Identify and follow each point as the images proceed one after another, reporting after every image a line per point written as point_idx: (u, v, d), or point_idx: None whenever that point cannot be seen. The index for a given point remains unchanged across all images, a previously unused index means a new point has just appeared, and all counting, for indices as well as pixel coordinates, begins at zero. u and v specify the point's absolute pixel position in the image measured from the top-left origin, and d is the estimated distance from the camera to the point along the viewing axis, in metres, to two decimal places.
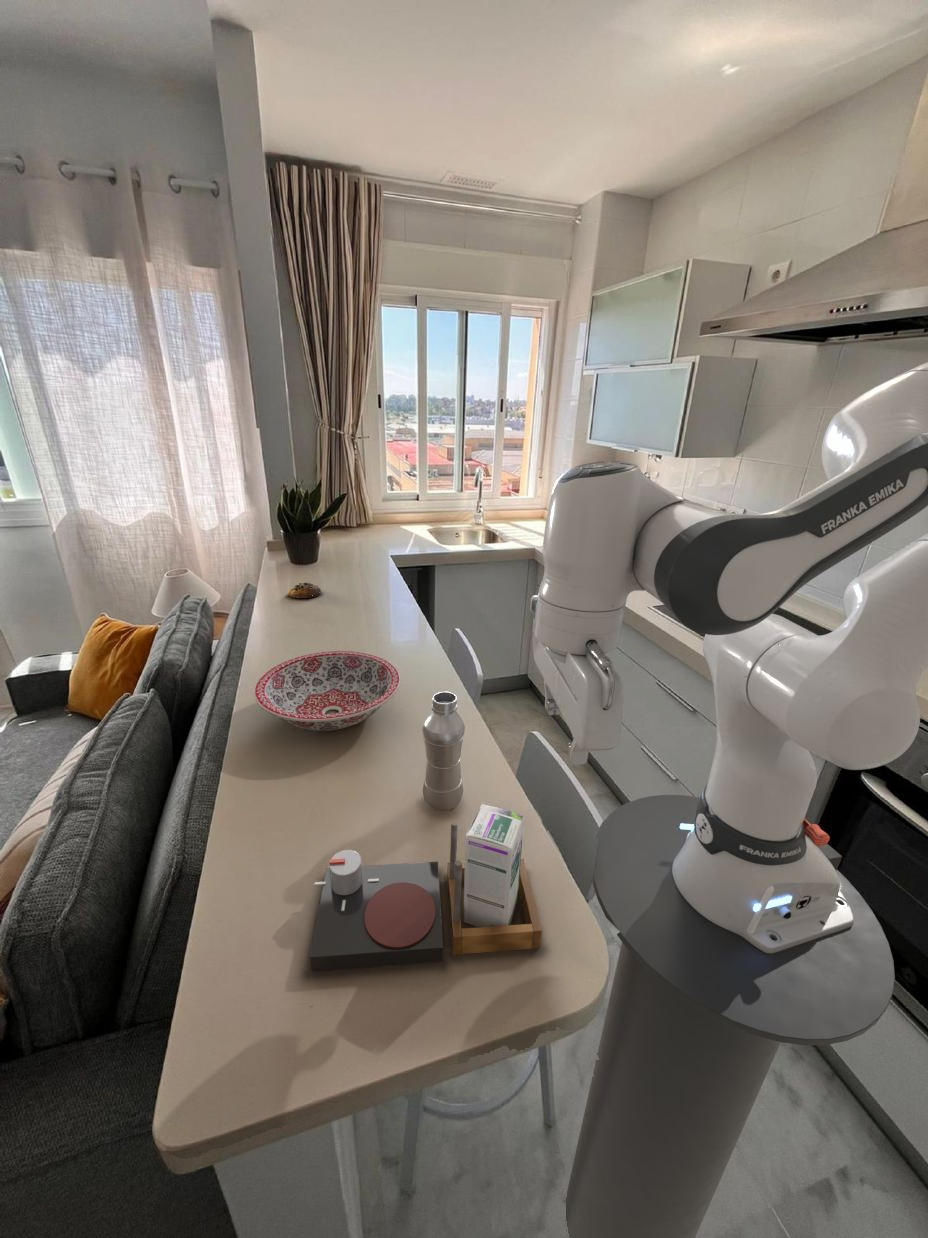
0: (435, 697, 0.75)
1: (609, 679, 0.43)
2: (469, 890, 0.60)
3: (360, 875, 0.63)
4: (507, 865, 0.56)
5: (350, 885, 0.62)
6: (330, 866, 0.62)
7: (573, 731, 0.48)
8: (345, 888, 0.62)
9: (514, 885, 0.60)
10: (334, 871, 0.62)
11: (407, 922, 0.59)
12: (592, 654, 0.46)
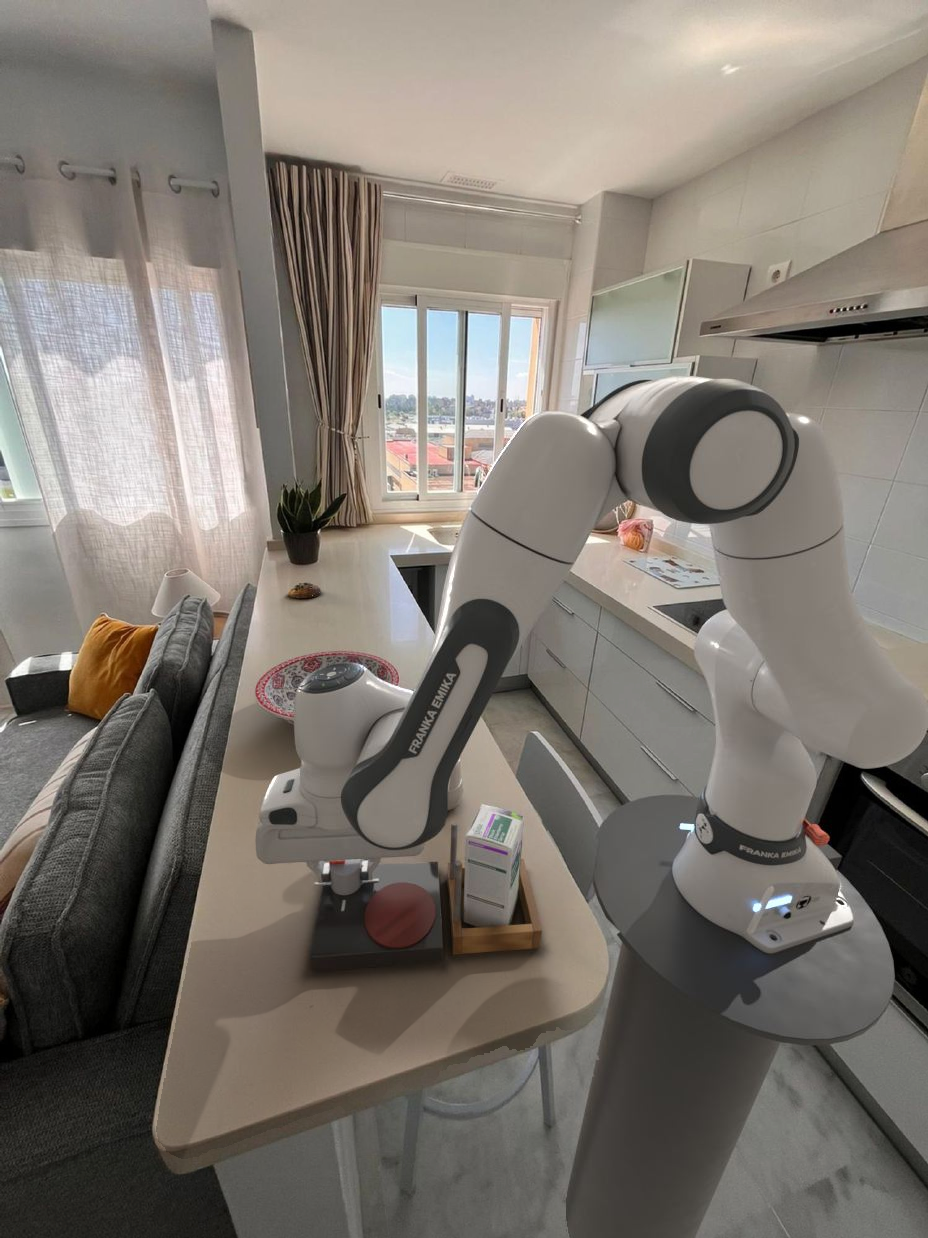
0: None
1: None
2: (469, 890, 0.60)
3: (360, 875, 0.63)
4: (507, 866, 0.56)
5: (350, 885, 0.62)
6: (330, 866, 0.62)
7: (403, 853, 0.61)
8: (345, 888, 0.62)
9: (514, 885, 0.60)
10: (334, 871, 0.62)
11: (407, 922, 0.59)
12: None
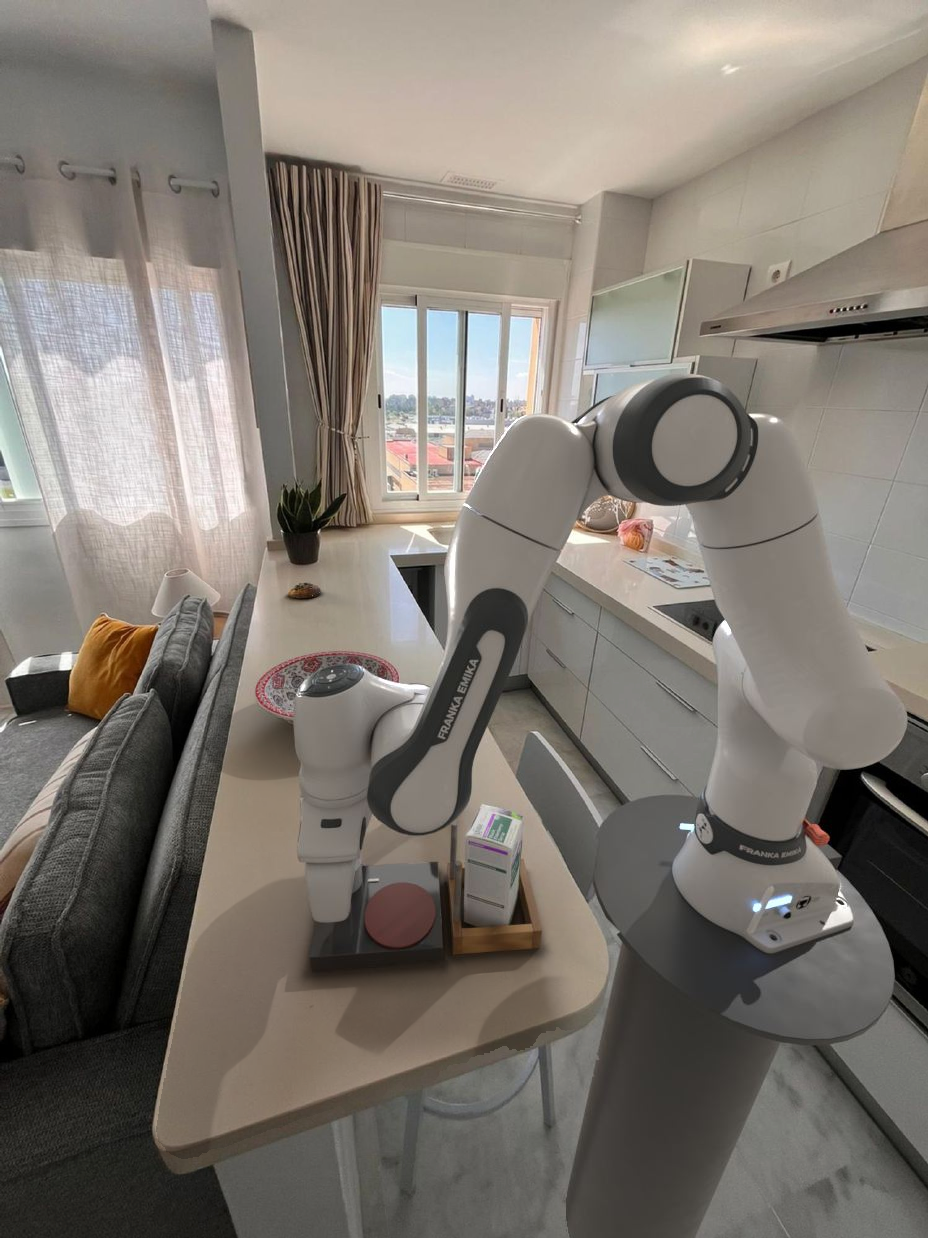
0: None
1: None
2: (469, 890, 0.60)
3: None
4: (507, 866, 0.56)
5: None
6: None
7: None
8: None
9: (514, 885, 0.60)
10: None
11: (407, 922, 0.59)
12: None
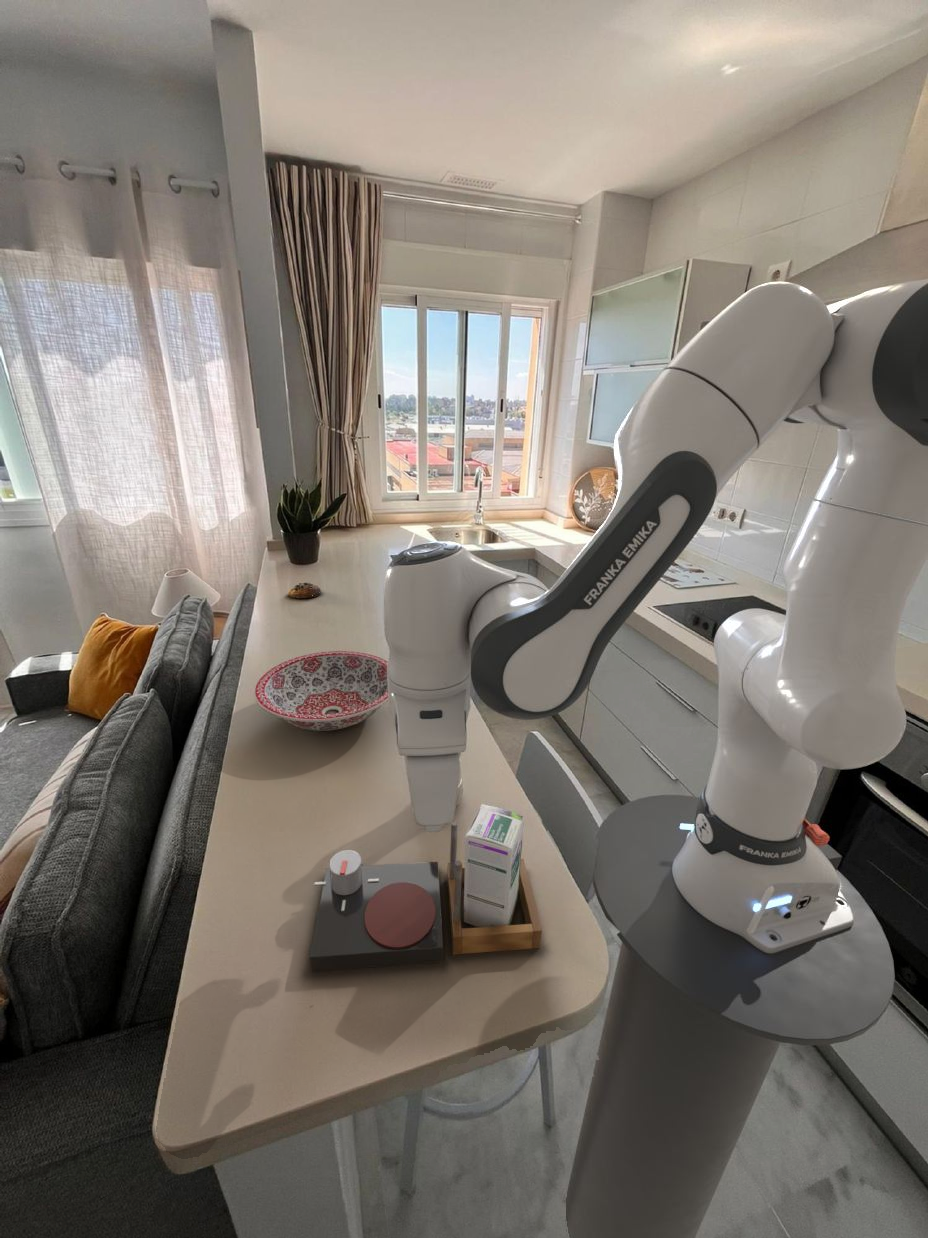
0: None
1: None
2: (469, 890, 0.60)
3: None
4: (507, 866, 0.56)
5: None
6: (347, 873, 0.61)
7: None
8: None
9: (514, 885, 0.60)
10: (353, 870, 0.62)
11: (407, 922, 0.59)
12: None
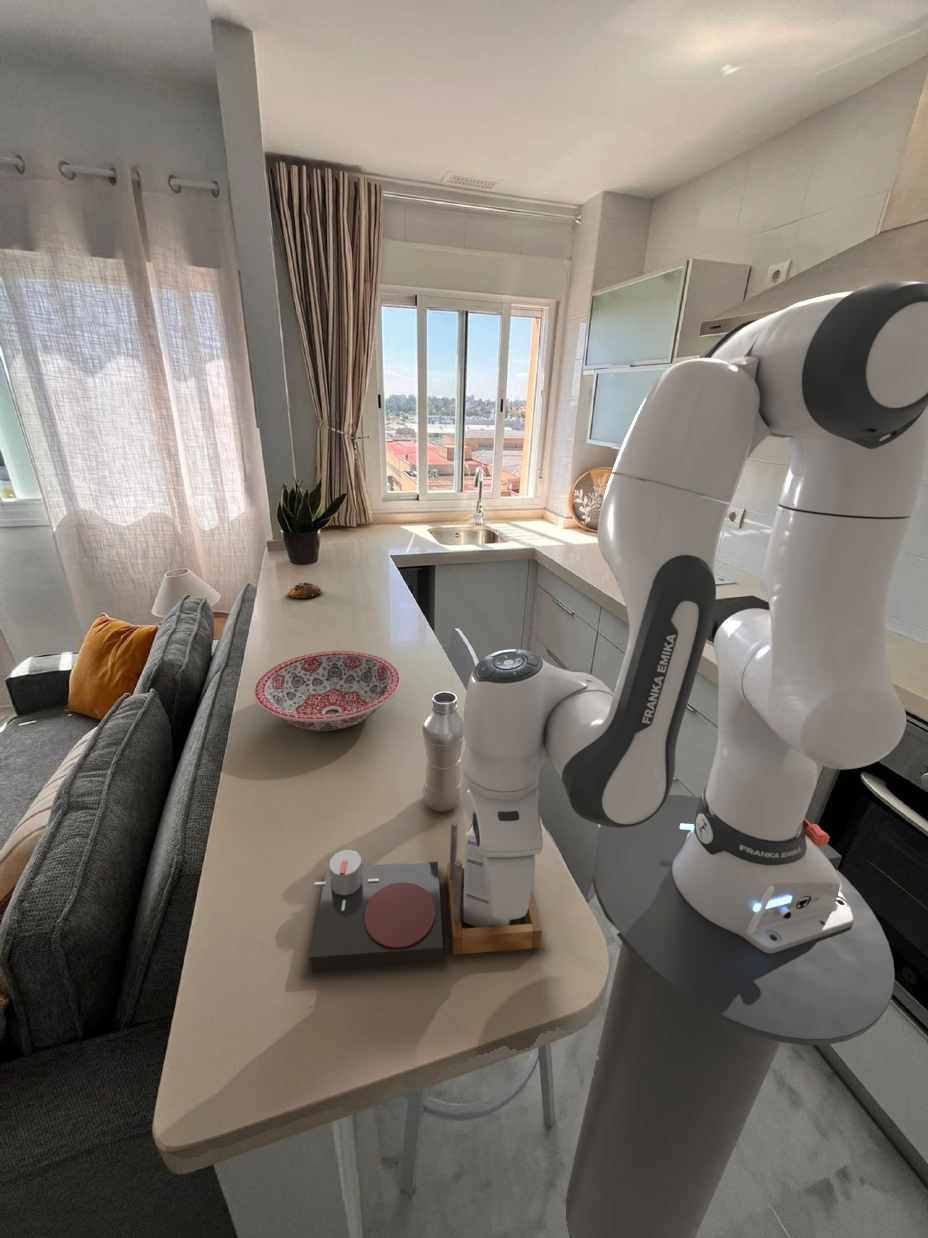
0: (435, 697, 0.75)
1: None
2: (469, 890, 0.60)
3: None
4: None
5: None
6: (347, 873, 0.61)
7: None
8: None
9: None
10: (353, 870, 0.62)
11: (407, 922, 0.59)
12: None
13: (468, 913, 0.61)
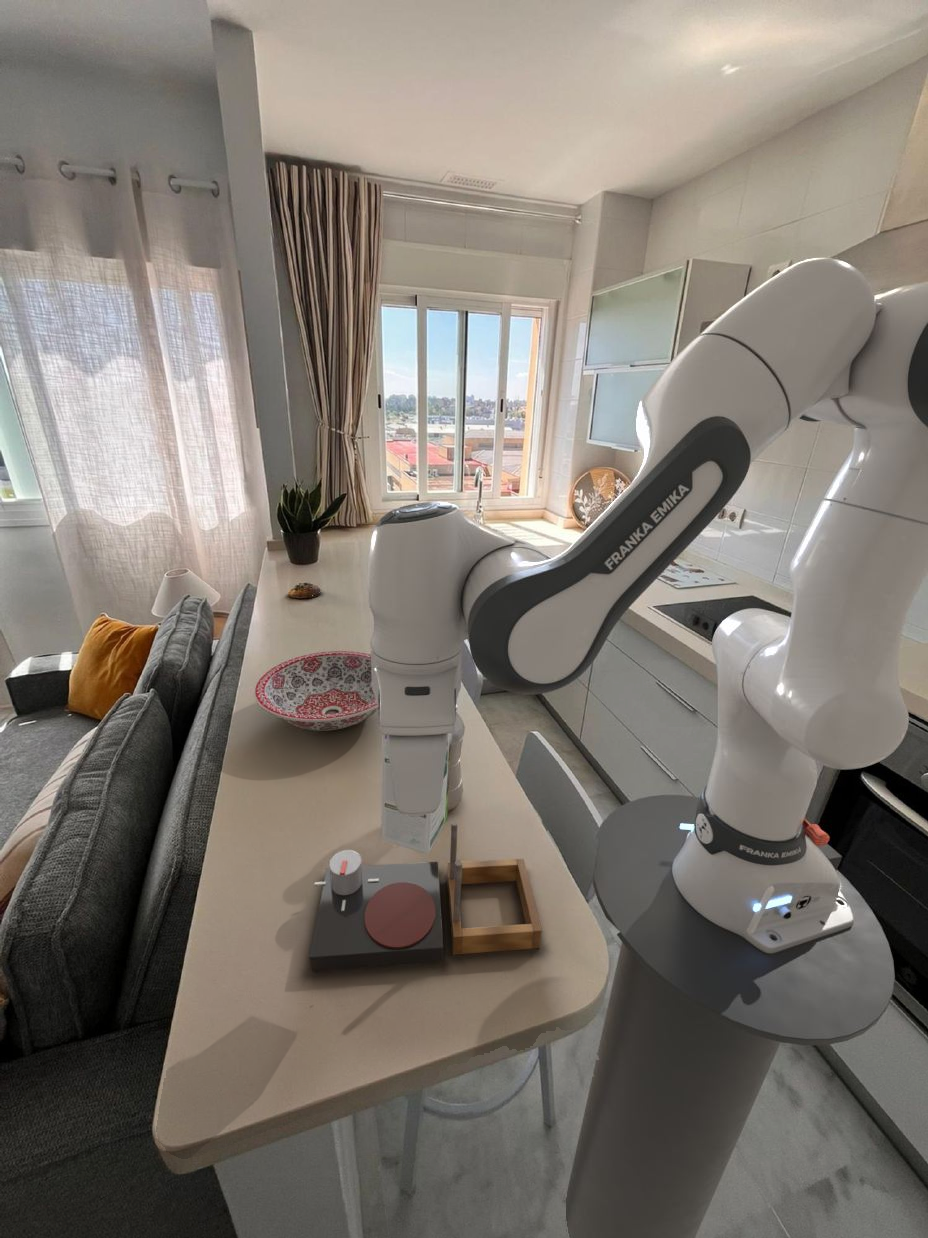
0: None
1: None
2: (387, 798, 0.52)
3: None
4: None
5: None
6: (347, 873, 0.61)
7: None
8: None
9: None
10: (353, 870, 0.62)
11: (407, 922, 0.59)
12: None
13: (387, 828, 0.53)
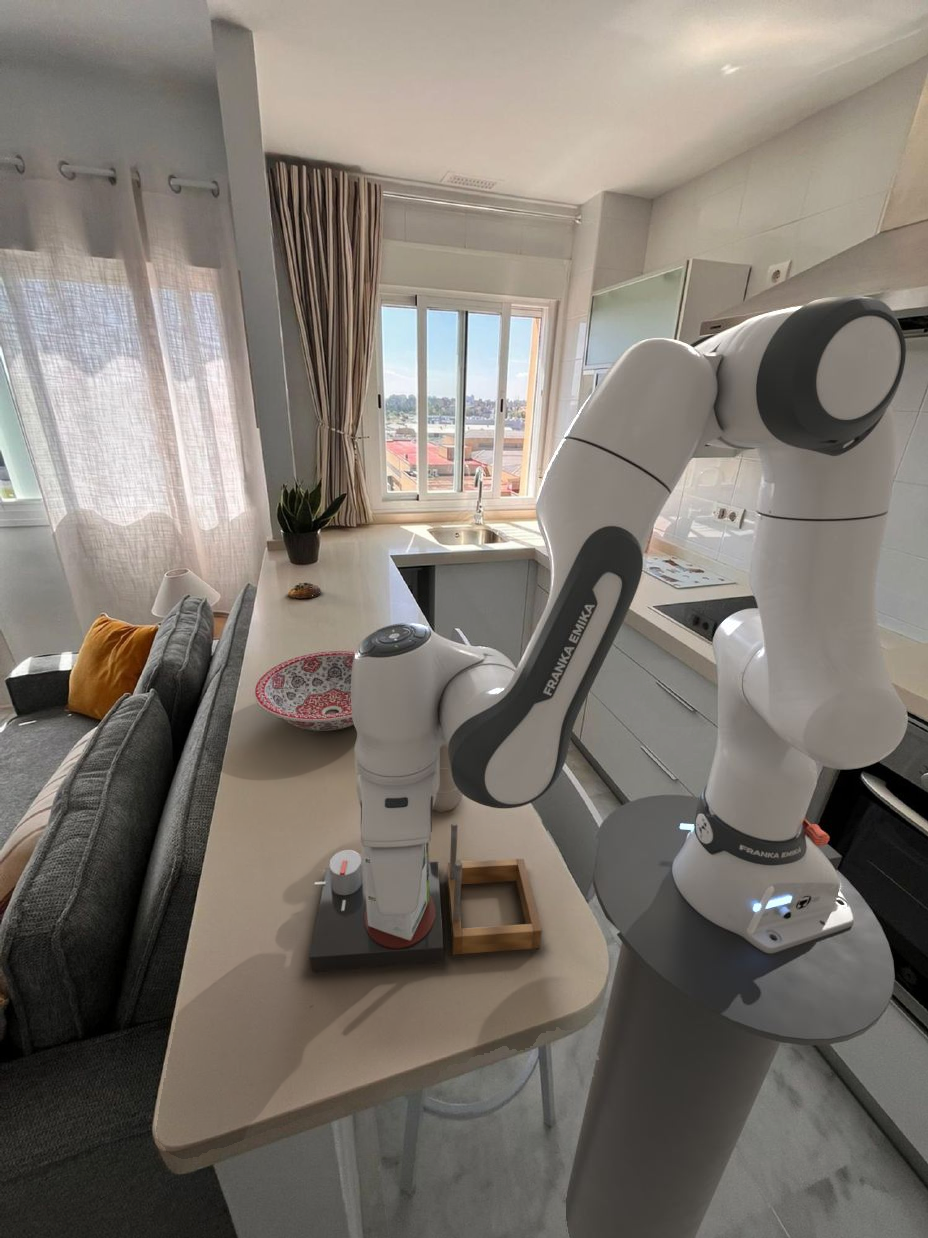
0: None
1: None
2: (370, 892, 0.56)
3: None
4: None
5: None
6: (347, 873, 0.61)
7: None
8: None
9: None
10: (353, 870, 0.62)
11: None
12: None
13: (372, 916, 0.57)
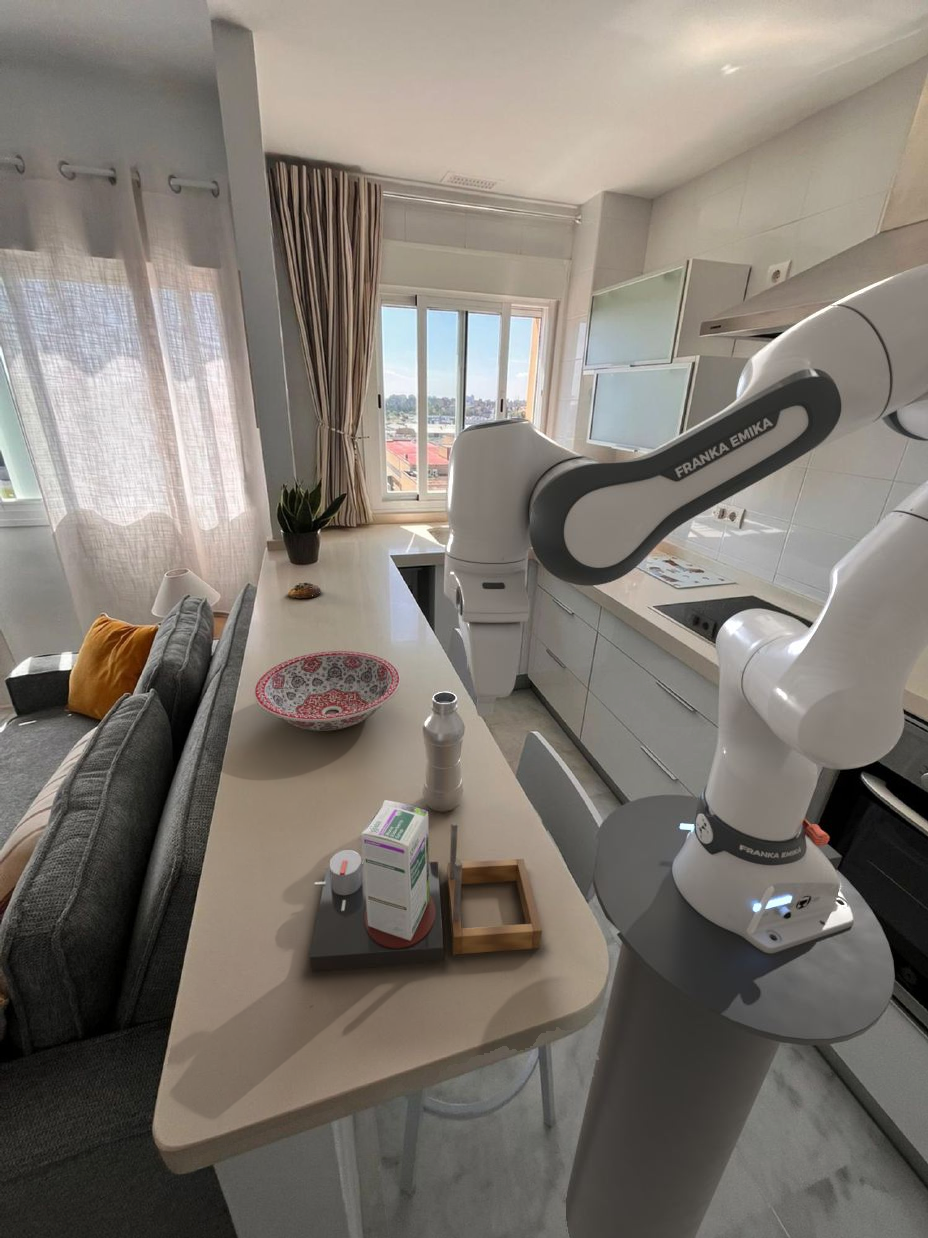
0: (435, 697, 0.75)
1: None
2: (370, 892, 0.56)
3: None
4: (405, 864, 0.53)
5: None
6: (347, 873, 0.61)
7: None
8: None
9: (418, 885, 0.56)
10: (353, 870, 0.62)
11: None
12: None
13: (372, 916, 0.57)
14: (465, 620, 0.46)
